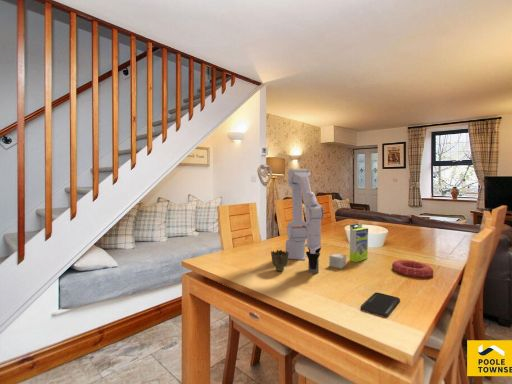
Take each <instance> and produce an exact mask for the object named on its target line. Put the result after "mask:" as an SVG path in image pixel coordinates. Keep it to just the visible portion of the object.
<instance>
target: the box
mask: <svg viewBox="0 0 512 384" xmlns="http://www.w3.org/2000/svg"><path fill="white" fill-rule="evenodd" d="M368 247H369V228H368V227H364V226H363V223H362V222H358V223H353V224H349V262H352V263H357V262H361V261H364V260H367V259H368V250H369V249H368Z"/></svg>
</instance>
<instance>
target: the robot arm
mask: <svg viewBox="0 0 512 384" xmlns="http://www.w3.org/2000/svg"><path fill="white" fill-rule="evenodd" d="M311 175H312V173H311V170H310V169H309V168H290V169H289V170H288V173H287V184H288V186H289V187H291V200H292V201H291V203H292V219H291V220H290V221H289V222H288V223H287V225H286V226H287V228H286V236H287V239H285V252H286V251H287V252H289V254H288V260H289V259H290V260H301V261H305V260H306V258H307V259H308V265H309V264H310V269H314V270H316V266H317V261H318V259H319V257H320V256H321V249H322V220H323V218H324V214H325V212H324V208H323V206H322V205H321V204H319V202H318V200H317V196H316V193H314V192H312V189H311V184H310V181H311ZM303 205H304V207H305V210H304V216H305V217H304V218H305V221H304V220H303V219H304V218H303ZM306 247H307V249H308V250H307V251H306Z"/></svg>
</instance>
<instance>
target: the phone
mask: <svg viewBox="0 0 512 384" xmlns="http://www.w3.org/2000/svg"><path fill="white" fill-rule="evenodd" d="M399 303H401V299H400V297H397V296H394V295H388V294H386V293H381V292H374V293H372V295H371V296H370V297H368V298H367V299H366V300H365V301H364V302H363V303H362V304H361V305H360V310H361V311H363V312H365V313H369V314H373V315H375V316H378V317H379V316H380V317H381V318H382V317H383V318H389V316H390V315H391V314H392V313H393V311H394V310H395V309H396V307H397V306H398V305H399Z"/></svg>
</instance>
